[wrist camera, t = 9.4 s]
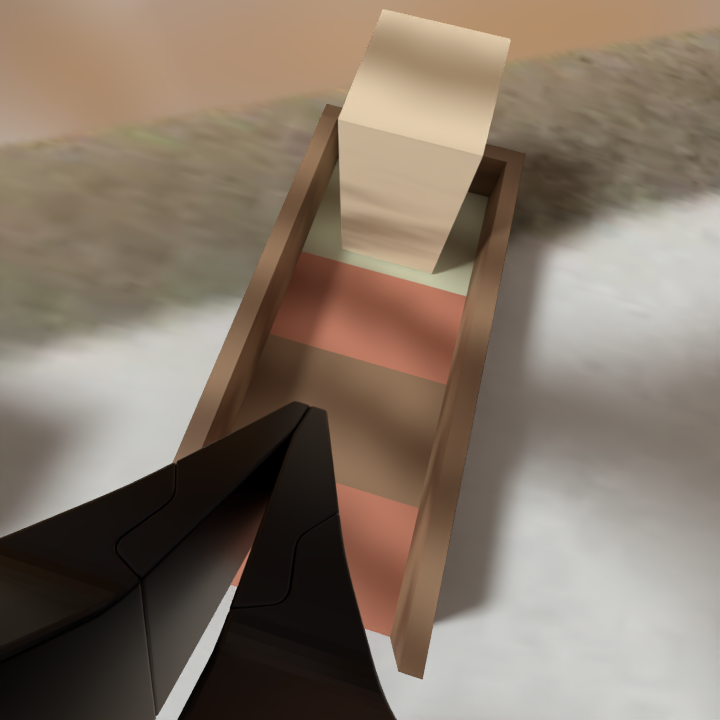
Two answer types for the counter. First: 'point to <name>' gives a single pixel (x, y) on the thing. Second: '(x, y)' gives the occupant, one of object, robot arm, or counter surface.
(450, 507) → the tray
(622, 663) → the counter surface
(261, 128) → the counter surface
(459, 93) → the sliding block
